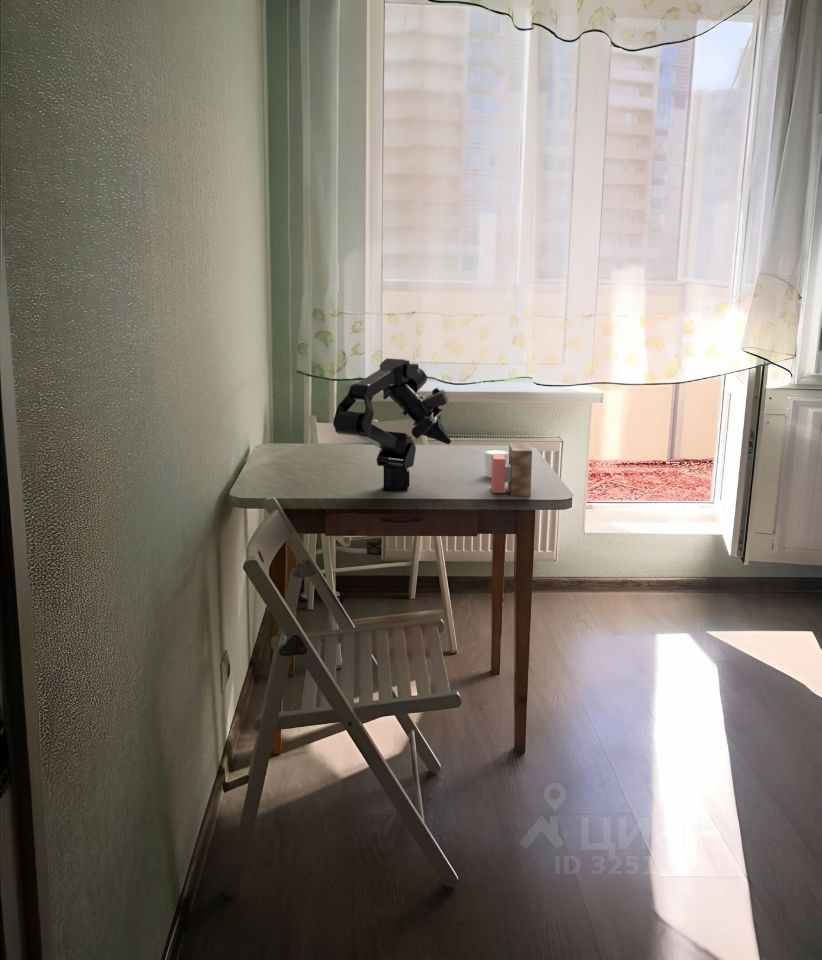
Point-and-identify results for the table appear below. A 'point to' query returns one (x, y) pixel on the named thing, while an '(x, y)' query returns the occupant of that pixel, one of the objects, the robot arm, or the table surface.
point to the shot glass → (489, 460)
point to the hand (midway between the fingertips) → (449, 442)
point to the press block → (520, 469)
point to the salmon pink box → (500, 473)
